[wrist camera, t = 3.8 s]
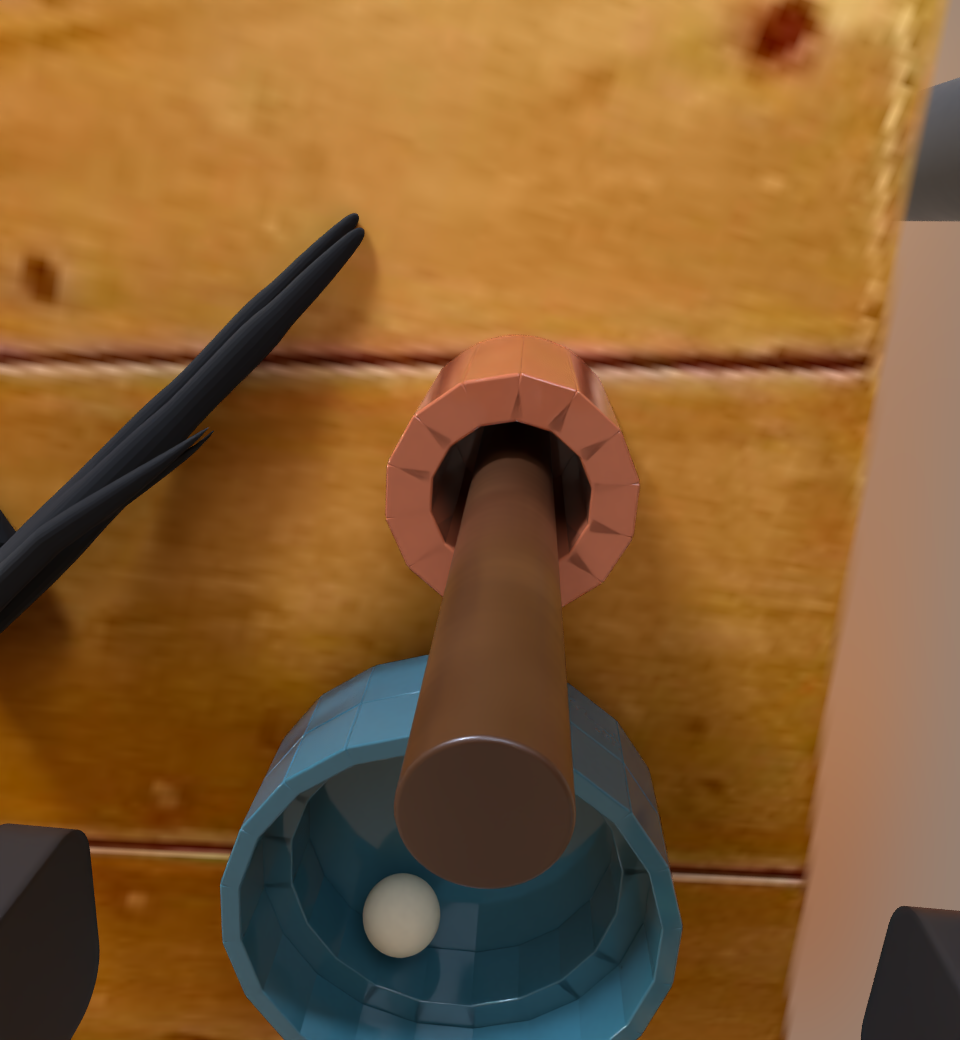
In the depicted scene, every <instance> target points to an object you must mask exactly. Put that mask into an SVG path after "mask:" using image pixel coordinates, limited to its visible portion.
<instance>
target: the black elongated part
mask: <svg viewBox="0 0 960 1040" xmlns="http://www.w3.org/2000/svg"><path fill="white" fill-rule="evenodd" d="M358 220H359V216H358V214H356V213H353V214H350V215H348V216H346V217H345V218H343V219H342V220H341V221H340V222H338V223H337V224H336V225H334V226H333V227H332V228H331V229H330V230H329V231H327V232H326V233H325V234H324V235H323V236H322V237H320V238H319V239H318V240H317V241H316V242H315V243H313V244H312V245H311V246H310V247H309V248H308V249H307V250H306V251H305V252H304V253H302V254H301V255H300V256H299V257H298V258H297V259H296V260H295V261H294V262H293V263H292V264H291V265H290V266H289V267H287V268H286V269H285V270H284V271H283V272H282V273H281V274H280V275H279V276H278V277H277V278H276V279H275V280H274V281H273V282H272V283H270V284H269V285H268V286H267V287H265V288H264V289H263V290H262V291H260V292H259V293H258V294H257V295H256V296H255V297H254V298H252V299H251V300H250V301H249V302H248V303H247V304H246V305H245V306H244V307H243V308H242V309H241V310H240V311H239V312H238V313H237V314H236V315H235V316H234V317H233V318H232V319H231V320H230V322H229V323H228V324H227V325H226V326H225V327H224V328H223V329H222V330H221V331H220V332H219V333H218V334H217V335H216V337H215V338H214V339H213V340H212V341H211V342H210V343H209V344H208V345H207V346H206V347H205V348H204V349H203V351H202V352H201V353H200V354H199V355H198V356H197V357H196V358H195V359H194V360H193V361H192V362H191V363H190V364H189V365H188V366H187V367H186V368H185V369H184V370H183V371H182V372H181V373H180V374H179V375H178V376H177V377H176V378H175V379H174V380H173V381H172V382H171V383H170V384H169V385H168V386H166V387H165V388H164V389H163V390H162V391H161V392H159V393H158V394H157V395H156V396H155V397H154V398H153V399H152V400H150V401H149V402H148V403H147V404H146V405H145V406H144V407H143V408H142V409H141V410H140V411H139V412H138V413H137V414H136V415H135V416H134V417H133V418H132V419H131V420H130V421H129V422H128V423H127V424H126V425H125V426H124V427H123V428H122V429H121V430H120V431H119V432H118V433H117V434H116V435H115V436H114V437H113V438H112V439H111V440H110V441H109V442H108V443H107V444H106V445H105V446H104V447H103V448H102V449H101V450H100V451H98V452H97V453H96V454H95V455H94V456H93V457H92V458H91V459H90V460H89V461H88V462H87V463H86V464H85V465H84V466H83V467H82V468H81V469H80V470H79V471H78V472H77V473H76V474H75V475H74V476H73V477H72V478H71V479H70V480H69V481H68V482H67V483H66V484H65V485H64V486H63V487H62V488H61V489H60V490H59V491H58V492H57V493H56V494H55V495H54V496H53V497H51V498H50V499H49V500H48V501H47V502H46V503H45V504H44V505H43V506H42V507H41V508H40V509H39V510H38V511H37V512H36V513H35V514H34V515H33V516H32V517H31V518H30V519H29V520H28V521H27V522H26V523H25V524H24V525H23V526H22V527H21V528H20V529H19V530H18V531H17V532H16V531H15V530H14V529H13V527H12V526H11V525H10V523H9V522H8V520H7V519H6V517H5V516H4V514H3V513H2V512H1V510H0V633H1V632H3V631H4V630H5V629H6V628H7V627H8V626H9V625H10V624H11V623H12V622H13V621H14V620H15V619H16V618H17V617H19V616H20V615H21V614H22V613H23V612H24V611H25V610H26V609H27V608H28V607H29V606H30V605H31V604H32V603H33V602H34V601H35V600H36V599H37V598H38V597H40V596H41V595H42V594H43V593H44V592H45V591H46V590H47V589H48V588H49V587H50V586H51V585H52V584H53V583H54V582H55V581H56V580H57V579H58V578H59V577H60V576H61V575H62V574H63V573H64V572H65V571H66V570H67V569H68V568H69V567H70V566H71V565H72V564H73V563H74V562H75V561H76V560H77V559H78V558H79V557H80V555H81V554H82V553H83V552H84V551H85V550H86V549H87V548H88V547H89V546H90V544H91V543H92V542H93V541H94V540H95V539H96V538H97V537H98V536H99V534H100V533H101V532H102V531H103V530H104V529H105V528H106V527H107V526H108V524H109V523H110V522H111V521H112V520H113V519H114V518H115V517H116V516H117V515H118V514H119V513H120V512H121V511H122V510H123V508H124V507H125V506H127V505H128V504H129V503H131V502H132V501H133V500H135V499H136V498H137V497H139V496H140V495H141V494H143V493H144V492H145V491H147V490H148V489H149V488H151V487H152V486H153V485H155V484H156V483H157V482H158V481H160V480H161V479H162V478H164V477H165V476H166V475H167V474H169V473H170V472H171V471H173V470H174V469H175V468H177V467H178V466H179V465H180V464H182V463H183V462H184V461H185V460H187V459H188V458H189V457H190V456H191V455H192V454H193V453H194V452H195V451H197V450H198V449H199V448H200V447H201V446H202V445H203V444H204V442H205V441H206V440H207V439H208V438H209V437H210V436H211V434H212V433H213V432H214V431H212V432H211V433H209V434H208V435H207V436H206V437H205V438H203V439H202V440H201V441H199V442H198V443H197V444H195V445H194V446H192V447H190V446H191V445H193V444H194V443H195V442H196V441H197V440H198V439H199V438H200V437H201V436H202V435H203V433H204V432H205V431H206V430H207V429H208V428H209V427H208V428H206V429H204V430H202V431H200V432H199V433H197V434H195V435H194V436H192V437H190V438H188V436H189V435H190V434H191V433H192V432H193V431H194V430H195V428H196V427H197V426H198V425H199V424H200V423H201V422H202V421H203V420H204V419H205V418H206V417H207V416H208V415H209V414H210V413H211V412H212V411H213V410H214V409H215V408H216V407H217V405H218V404H219V403H220V402H221V401H222V400H223V399H224V398H225V397H226V396H227V395H228V394H229V393H230V392H231V391H232V390H233V389H234V388H235V387H236V386H237V385H238V384H239V383H240V382H241V381H242V380H244V379H245V378H246V377H247V376H248V375H249V374H250V373H251V372H252V371H253V370H254V369H255V368H256V367H257V366H258V365H259V364H260V362H261V361H262V360H263V359H264V358H265V357H266V356H267V355H268V354H269V353H270V352H271V351H272V350H273V348H274V347H275V346H276V345H277V344H278V343H279V342H280V340H281V339H282V338H283V336H284V335H285V334H286V332H287V331H288V330H289V329H290V327H291V326H292V325H293V324H294V322H295V321H296V320H297V319H298V318H299V317H300V316H301V315H302V313H303V312H304V311H305V310H306V309H307V308H308V307H309V306H310V305H311V303H312V302H313V301H314V300H315V299H316V298H317V297H318V296H319V294H320V293H321V292H322V291H323V290H324V289H325V287H326V286H327V285H328V284H329V283H330V282H331V280H332V279H333V278H334V277H335V276H336V274H337V273H338V272H339V271H340V269H341V268H342V267H343V266H344V264H345V263H346V262H347V261H348V259H349V258H350V257H351V256H352V254H353V253H354V252H355V250H356V249H357V247H358V246H359V245H360V243H361V241H362V240H363V237H364V230H363V229H362V228H356V229H354V228H355V227H356V225H357V223H358ZM187 438H188V439H187ZM186 439H187V440H186ZM189 447H190V448H189ZM188 448H189V449H188Z"/></svg>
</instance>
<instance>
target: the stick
mask: <svg viewBox="0 0 960 1040" xmlns="http://www.w3.org/2000/svg"><path fill="white" fill-rule="evenodd" d="M394 817H395V822H396V826H397V829H398V832H399V834H400V837H401V839H402V841H403V843H404V844H405V846H406V848H407V849H408V850H409V852H410V853H411V855H412V856H413V857H414V858H415V859H416V860H417V861H418V862H419V863H420V864H421V865H422V866H424V867H425V868H426V869H427V870H429V871H430V872H432V873H433V874H435V875H436V876H438V877H440V878H442V879H444V880H447V881H449V882H452V883H455V884H458V885H461V886H465V887H471V888H478V889H499V888H506V887H511V886H515V885H519V884H522V883H525V882H527V881H529V880H532V879H534V878H535V877H537V876H539V875H541V874H542V873H543V872H545V871H546V870H547V869H549V868H550V867H551V866H552V865H553V864H554V863H555V862H556V861H557V860H558V859H559V858H560V856H561V855H562V854H563V852H564V851H565V849H566V847H567V846H568V844H569V842H570V840H571V837H572V834H573V832H574V827H575V822H576V805H575V791H574V776H573V762H572V748H571V733H570V719H569V705H568V690H567V676H566V662H565V647H564V633H563V618H562V604H561V590H560V575H559V561H558V547H557V532H556V518H555V504H554V489H553V475H552V461H551V446H550V432H549V431H546V430H543V429H539V428H536V427H533V426H529V425H526V424H523V423H520V422H510V423H504V424H497V425H490V426H484V430H483V434H482V438H481V442H480V447H479V451H478V455H477V459H476V463H475V467H474V471H473V475H472V480H471V484H470V488H469V492H468V496H467V500H466V504H465V508H464V513H463V517H462V521H461V525H460V529H459V533H458V537H457V541H456V545H455V550H454V554H453V558H452V562H451V566H450V570H449V574H448V578H447V583H446V587H445V591H444V595H443V599H442V603H441V607H440V611H439V616H438V620H437V624H436V628H435V632H434V636H433V640H432V644H431V648H430V653H429V657H428V661H427V665H426V669H425V673H424V677H423V681H422V686H421V690H420V694H419V698H418V702H417V706H416V710H415V714H414V719H413V723H412V727H411V731H410V735H409V739H408V743H407V747H406V752H405V756H404V760H403V764H402V768H401V772H400V776H399V780H398V784H397V789H396V793H395V799H394Z"/></svg>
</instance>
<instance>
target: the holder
mask: <svg viewBox="0 0 960 1040" xmlns="http://www.w3.org/2000/svg"><path fill="white" fill-rule="evenodd" d="M510 422H520V423H523V424H526V425H529V426H533V427H536V428H539V429H543V430H546V431H549V432H550V446H551V461H552V475H553V489H554V504H555V518H556V532H557V547H558V561H559V575H560V590H561V604H562V607H563V606H565V605H567V604H568V603H570V602H572V601H573V600H575V599H577V598H578V597H580V596H582V595H583V594H585V593H587V592H588V591H590V590H592V589H593V588H595V587H597V586H598V585H600V584H601V583H602V582H604V581H605V580H606V578H607V577H608V575H609V574H610V572H611V571H612V569H613V568H614V566H615V565H616V563H617V562H618V560H619V559H620V557H621V556H622V554H623V553H624V551H625V550H626V548H627V547H628V545H629V544H630V542H631V541H632V537H633V536H634V530H635V522H636V514H637V506H638V498H639V490H640V484H639V478H638V475H637V472H636V469H635V467H634V464H633V461H632V458H631V456H630V453H629V450H628V447H627V445H626V442H625V439H624V436H623V434H622V431H621V429H620V426H619V424H618V421H617V419H616V416H615V414H614V412H613V409H612V407H611V404H610V402H609V399H608V397H607V394H606V392H605V390H604V387H603V385H602V382H601V381H600V379H599V377H598V376H597V375H596V374H595V373H594V372H593V371H592V370H591V369H590V368H589V367H588V366H587V365H586V364H585V363H584V361H583V360H582V359H580V358H579V357H578V356H577V355H575V354H574V353H573V352H571V351H570V350H569V349H567V348H566V347H563V346H561V345H559V344H557V343H554V342H552V341H550V340H546V339H543V338H539V337H534V336H527V335H508V336H500V337H496V338H492V339H488V340H485V341H482V342H480V343H477V344H475V345H474V346H472V347H470V348H468V349H467V350H465V351H463V352H462V353H461V354H459V355H458V356H457V357H456V358H454V359H453V360H452V361H451V362H450V363H448V364H447V365H445V367H444V368H443V369H442V370H441V371H440V373H439V374H438V376H437V378H436V379H435V381H434V383H433V384H432V386H431V387H430V389H429V391H428V392H427V394H426V395H425V397H424V399H423V400H422V402H421V403H420V405H419V407H418V408H417V410H416V412H415V413H414V415H413V416H412V418H411V420H410V422H409V424H408V426H407V427H406V429H405V431H404V433H403V435H402V437H401V438H400V440H399V442H398V444H397V446H396V448H395V449H394V451H393V453H392V455H391V457H390V459H389V460H388V465H387V474H386V509H385V516H386V521H387V523H388V526H389V528H390V530H391V532H392V534H393V536H394V539H395V541H396V543H397V545H398V547H399V549H400V552H401V554H402V556H403V558H404V560H405V563H406V565H407V566H408V567H409V568H410V570H412V571H413V572H414V573H415V574H416V575H418V576H419V577H420V578H421V579H422V580H423V581H425V582H426V583H427V584H428V585H429V586H431V587H432V588H433V589H434V590H435V591H436V592H438V593H439V594H440V595H441V596H442V597H443V595H444V591H445V587H446V583H447V578H448V574H449V570H450V566H451V562H452V558H453V554H454V550H455V545H456V541H457V537H458V533H459V529H460V525H461V521H462V517H463V513H464V508H465V504H466V500H467V496H468V492H469V488H470V484H471V480H472V475H473V471H474V467H475V463H476V459H477V455H478V451H479V447H480V442H481V438H482V434H483V430H484V426H490V425H497V424H504V423H510Z"/></svg>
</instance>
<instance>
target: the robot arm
mask: <svg viewBox="0 0 960 1040" xmlns="http://www.w3.org/2000/svg"><path fill="white" fill-rule="evenodd" d="M98 965H99V938H98V928H97V918H96V908H95V897H94V887H93V877H92V867H91V857H90V848H89V843H88V839H87V837H86V835H85V834H84V833H83V832H82V831H80V830H75V829H64V828H53V827H42V826H30V825H19V824H3V825H0V1040H71V1038H72V1036H73V1034H74V1033H75V1031H76V1029H77V1027H78V1026H79V1024H80V1022H81V1020H82V1018H83V1016H84V1014H85V1012H86V1009H87V1007H88V1005H89V1002H90V999H91V996H92V993H93V990H94V986H95V982H96V978H97V972H98ZM861 1040H960V911H954V910H943V909H931V908H921V907H909V906H901V907H899V908H897V909H896V910H895V912H894V913H893V915H892V917H891V919H890V922H889V925H888V929H887V933H886V937H885V940H884V944H883V948H882V952H881V956H880V959H879V963H878V967H877V970H876V974H875V978H874V982H873V985H872V989H871V993H870V997H869V1000H868V1004H867V1008H866V1012H865V1016H864V1019H863V1025H862V1032H861Z"/></svg>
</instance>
